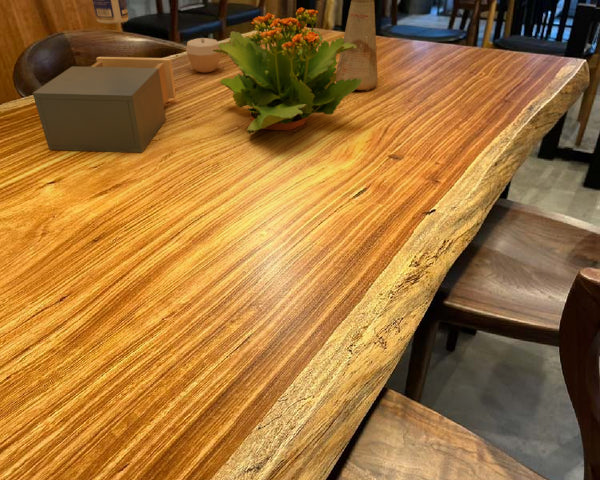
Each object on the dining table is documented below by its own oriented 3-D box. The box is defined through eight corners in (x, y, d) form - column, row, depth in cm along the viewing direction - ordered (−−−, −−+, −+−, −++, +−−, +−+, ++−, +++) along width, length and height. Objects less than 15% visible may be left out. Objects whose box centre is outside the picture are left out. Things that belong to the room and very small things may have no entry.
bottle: (329, 90, 108) (336, -80, 91) (341, 78, 115) (349, -82, 97) (371, 95, 106) (386, -79, 89) (380, 82, 112) (396, -81, 95)
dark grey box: (84, 117, 94) (71, 66, 89) (166, 120, 94) (158, 68, 88) (49, 150, 83) (32, 92, 77) (142, 152, 82) (131, 95, 77)
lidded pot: (217, 76, 115) (214, 43, 111) (182, 74, 116) (178, 41, 112) (227, 66, 121) (225, 35, 117) (194, 65, 122) (190, 33, 118)
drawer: (113, 88, 105) (106, 50, 101) (181, 89, 105) (176, 52, 100) (79, 119, 91) (69, 77, 87) (156, 121, 90) (150, 79, 86)
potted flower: (181, 118, 94) (167, 6, 84) (279, 90, 108) (277, -10, 97) (279, 159, 81) (277, 31, 70) (377, 121, 94) (387, 9, 83)
